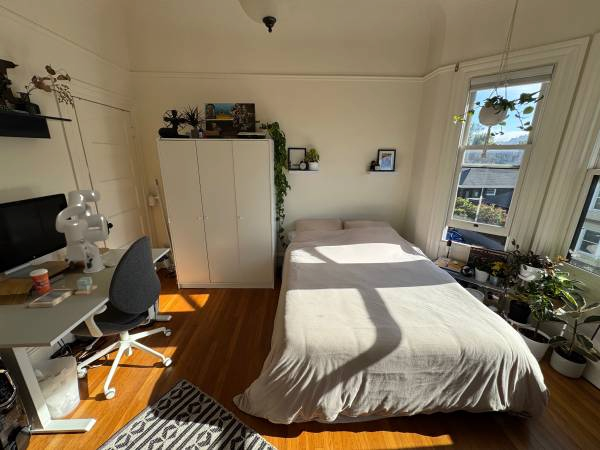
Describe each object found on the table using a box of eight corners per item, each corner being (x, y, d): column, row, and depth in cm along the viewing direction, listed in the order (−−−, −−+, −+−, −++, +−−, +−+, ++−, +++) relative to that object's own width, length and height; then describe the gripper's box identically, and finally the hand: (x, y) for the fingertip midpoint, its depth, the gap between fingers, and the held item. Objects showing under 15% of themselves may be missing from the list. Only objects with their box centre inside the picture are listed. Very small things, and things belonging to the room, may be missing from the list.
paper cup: (41, 295, 147) (35, 274, 144) (31, 293, 149) (25, 273, 145) (56, 289, 155) (50, 269, 151) (46, 287, 156) (41, 267, 152)
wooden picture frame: (53, 292, 151) (52, 288, 150) (74, 291, 152) (74, 288, 151) (29, 307, 135) (28, 303, 135) (53, 306, 137) (52, 302, 136)
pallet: (85, 287, 158) (83, 275, 156) (97, 287, 159) (94, 275, 156) (75, 294, 149) (72, 282, 147) (87, 294, 150) (84, 282, 148)
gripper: (95, 240, 150) (100, 265, 154) (64, 240, 148) (70, 266, 152) (86, 244, 143) (92, 270, 147) (54, 244, 140) (60, 271, 145)
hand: (81, 268), depth 149 cm, fingers open, 9 cm apart
